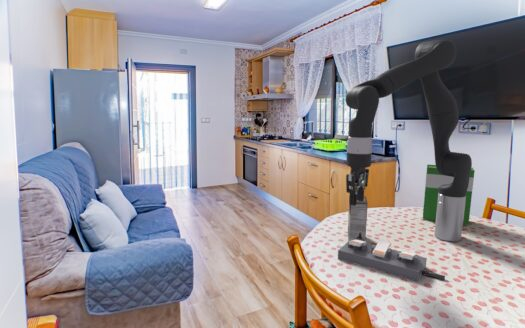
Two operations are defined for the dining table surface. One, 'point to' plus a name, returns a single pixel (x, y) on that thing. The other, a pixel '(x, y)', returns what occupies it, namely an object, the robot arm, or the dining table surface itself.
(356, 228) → the coffee box
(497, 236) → the dining table surface
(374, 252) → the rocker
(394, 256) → the power strip
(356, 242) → the block
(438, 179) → the hardback book
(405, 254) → the rocker
